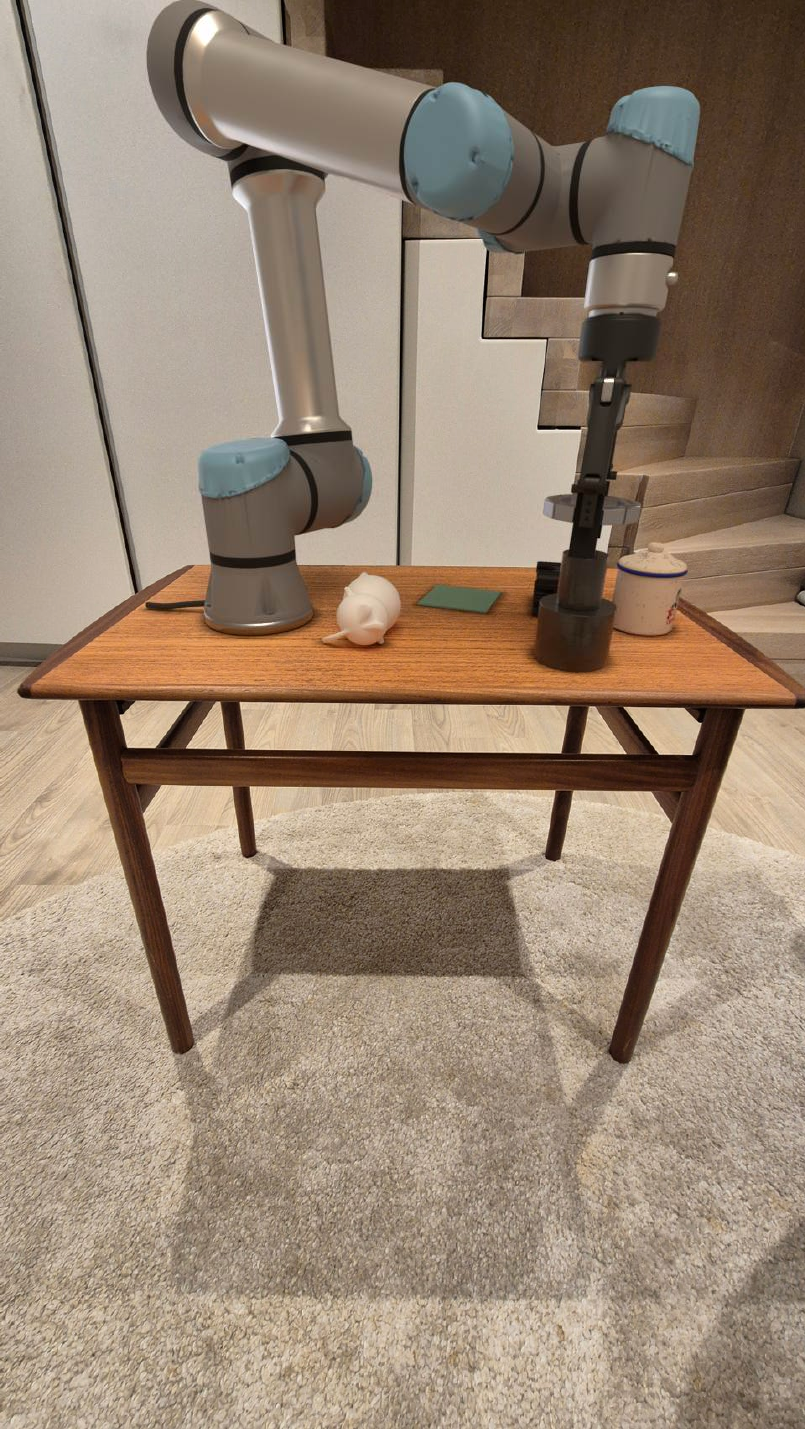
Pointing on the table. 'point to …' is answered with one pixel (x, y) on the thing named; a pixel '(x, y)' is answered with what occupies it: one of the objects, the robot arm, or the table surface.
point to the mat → (460, 598)
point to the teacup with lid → (648, 591)
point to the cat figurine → (367, 610)
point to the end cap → (545, 582)
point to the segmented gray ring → (612, 513)
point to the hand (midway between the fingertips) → (585, 546)
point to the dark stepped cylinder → (576, 617)
